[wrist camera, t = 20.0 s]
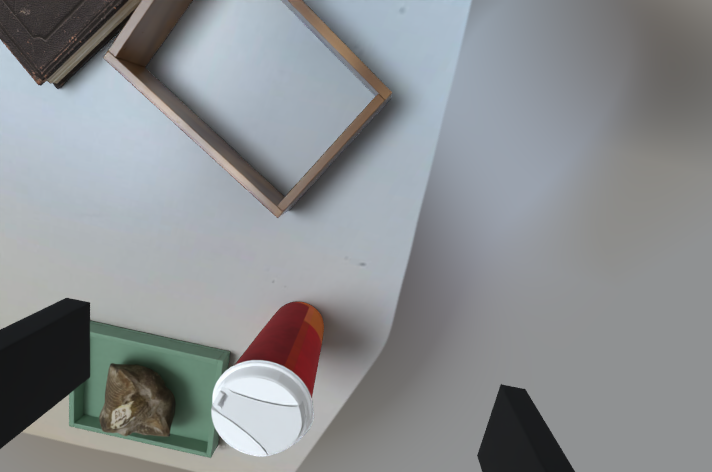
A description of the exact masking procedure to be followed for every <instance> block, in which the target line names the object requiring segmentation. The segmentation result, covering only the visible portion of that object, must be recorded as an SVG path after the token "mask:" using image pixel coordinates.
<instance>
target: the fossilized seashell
mask: <svg viewBox="0 0 712 472" xmlns="http://www.w3.org/2000/svg"><path fill="white" fill-rule="evenodd" d="M175 406H176V402H175V398H174V395H173V393H172V392H171V390H170V389H169V388H167V387H166V386H165V383H164V381H163V379H162V378H161V376H160V375H159V374H158V373H157V372H155V371H153V370H152V369H150V368H147V367H144V366H140V365H137V364H135V365H132V364H114V363H112V364H110V367H109V370H108V376H107V382H106V389H105V403H104V406H103V408H102V410H101V412H100V416H99V422H100V425H101V427H102V431H103V432H107V433H119V434H121V435H123V436H128V435H130V434H131V433H133V432H134V433H139V434H142V435H153V436H164V437H169V436H170V430H171V425H172V421H173V418H174V415H175Z"/></svg>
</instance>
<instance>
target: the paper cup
mask: <svg viewBox="0 0 712 472" xmlns="http://www.w3.org/2000/svg"><path fill="white" fill-rule="evenodd" d="M323 332H324V322H323V319H322V316H321V314H320V313H319V312H318V310H317V309H316V308H314V307H313V306H311V305H310V304H307V303H304V302H291V303H288V304H286V305H284V306H283V307H281V308H280V309H279V310H278V311H277V312H276V313H275V315H274V316H273V317H272V318H271V319H270V321H269V322H268V323H267V324H266V326H265V327H264V328H263V329H262V331H261V332H260V333H259V334H258V336H257V337H256V338H255V340H254V341H253V342H252V343H251V345H250V346H249V347H248V349H247V350H246V351H245V352H244V354H243V355H242V356H241V357H240V359H239V360H238V361H237V363H236V364H235V365H234V366H232V367H230V368H229V369H228V370H226V371H225V372H224V373H223V374H222V375H221V376H220V378H219V379H218V381H217V382H216V385H215V387H214V390H213V395H212V407H211V415H212V421H213V424H214V427H215V429H216V430H217V432H218V434H219V435H220V436H221V438H222V439H223V440H224V441H225V442H226V443H227V444H229V445H230V446H231V447H233V448H234V449H236V450H238V451H240V452H243V453H245V454H249V455H253V456H270V455H273V454H277V453H279V452H282V451H284V450H286V449H287V448H289V447H290V446H292V445H293V444H295V443H297V442H298V441H299V440H300V439H301V438H302V436H304V435H305V434H306V433H307V432H308V430H309V429H310V427H311V425H312V422H313V419H314V412H313V402H312V394H313V388H314V383H315V378H316V372H317V367H318V362H319V356H320V351H321V345H322V339H323Z"/></svg>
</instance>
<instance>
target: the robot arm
mask: <svg viewBox="0 0 712 472" xmlns="http://www.w3.org/2000/svg"><path fill="white" fill-rule="evenodd" d="M89 378H90V302H85V301H80V300H74V299H69V298H65V299H63V300H61V301H59V302H57V303H55V304H53V305H51V306H49V307H47V308H44V309H42V310H40V311H38V312H36V313H34V314H32V315H30V316H28V317H26V318H24V319H22V320H20V321H18V322H15V323H13V324H11V325H9V326H7V327H5V328H3V329H1V330H0V449H1V448H2V447H3V446H4V445H6V444H7V443H8V442H9V441H11V440H12V439H13V438H14V437H16V436H17V435H18V434H20V433H21V432H22V431H23V430H25V429H26V428H27V427H28V426H30V425H31V424H32V423H33V422H35V421H36V420H37V419H38V418H40V417H41V416H42V415H43V414H45V413H46V412H47V411H48V410H50V409H51V408H52V407H53V406H55V405H56V404H57V403H58V402H60V401H61V400H62V399H63V398H65V397H66V396H67V395H68V394H70V393H71V392H72V391H74V390H75V389H76V388H77V387H79V386H80V385H81V384H82V383H84V382H85V381H86V380H87V379H89ZM477 456H478V459H479V462H480V465H481V469H482V472H575V471H574V469H573V468H572V466H571V464H570V463H569V461H568V459H567V458H566V456H565V454H564V453H563V451H562V449H561V448H560V446H559V445H558V443H557V441H556V439H555V438H554V436H553V434H552V433H551V431H550V429H549V428H548V426H547V424H546V423H545V421H544V420H543V418H542V416H541V415H540V413H539V411H538V410H537V408H536V406H535V405H534V403H533V401H532V400H531V398H530V396H529V395H528V393H527V391H526V390H525V389H521V388H516V387H511V386H506V385H501V386H500V389H499V392H498V394H497V397H496V401H495V404H494V407H493V410H492V413H491V416H490V419H489V422H488V425H487V428H486V431H485V434H484V437H483V440H482V443H481V446H480V449H479V452H478V455H477Z"/></svg>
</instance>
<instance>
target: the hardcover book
mask: <svg viewBox="0 0 712 472" xmlns="http://www.w3.org/2000/svg"><path fill="white" fill-rule="evenodd" d="M141 1H142V0H0V39H1V41H2V42H3V43H4V44H5V45H6V47H7V48H8V49H9V50H10V51H11V53H12V54H13V55H14V56H15V57H16V59H17V60H18V61H19V62H20V63H21V65H22V66H23V67H24V68H25V69H26V71H27V72H28V73H29V74H30V75H31V77H32V78H33V79H34V80H35V81H36V83H37V84H38V85H42V84H43V83H44V82H45V81H48V82H49V83H50V84H51V83H53V84H54V86H55V87H56V88H57V89H59V88H60V87H61V86H62V85H63V84H65V83H66V82H67V81H68V80H69V79H70V78H71V77H72V76H73V75H74V74H75V73H76V72H77V71H78V70H79V69H80V68H81V67H82V66H83V65H84V64H85V63H86V62H87V61H89V60H90V59H91V58H92V57H93V56H94V55H95V54H96V53H97V52H98V51H99V50H100V49H101V48H102V47H103V46H104V45H105V44H106V43H107V42H108V41H109V40H110V39H112V38H113V37H114V36H115V35H116V34H117V33H118V32H119V31H120V30H121V29H122V28H123V27H124V26H125V24H126V23H127V21H128V20H129V18H130V17H131V15H132V14H133V12H134V11H135V10H136V8H137V7H138V5H139V4H140V2H141Z"/></svg>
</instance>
